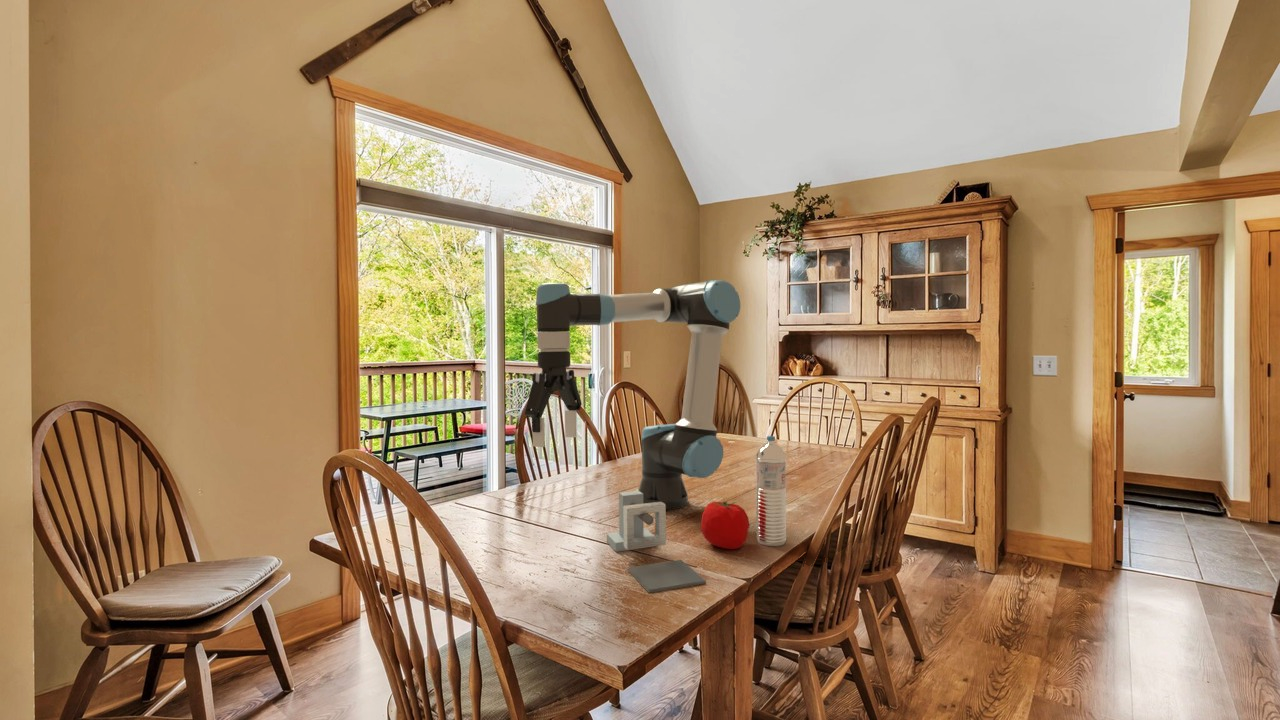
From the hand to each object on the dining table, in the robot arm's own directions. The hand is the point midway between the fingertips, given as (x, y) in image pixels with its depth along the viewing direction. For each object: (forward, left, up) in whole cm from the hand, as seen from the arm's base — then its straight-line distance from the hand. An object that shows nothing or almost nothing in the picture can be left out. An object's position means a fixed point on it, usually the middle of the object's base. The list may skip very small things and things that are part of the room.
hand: (555, 441), depth 140 cm
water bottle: (-47, +17, -25) cm, 56 cm away
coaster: (-16, +27, -24) cm, 40 cm away
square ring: (-16, +15, -22) cm, 31 cm away
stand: (-16, +10, -24) cm, 31 cm away
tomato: (-36, +15, -25) cm, 46 cm away
